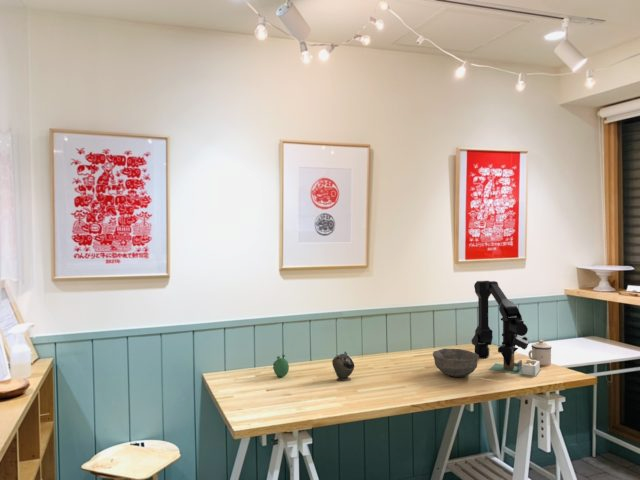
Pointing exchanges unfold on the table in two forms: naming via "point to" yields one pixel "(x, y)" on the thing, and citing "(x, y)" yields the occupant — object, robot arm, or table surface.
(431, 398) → the table surface
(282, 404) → the table surface
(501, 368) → the pitch
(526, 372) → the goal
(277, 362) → the alien toy
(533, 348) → the teacup with lid
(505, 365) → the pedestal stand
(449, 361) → the bowl
